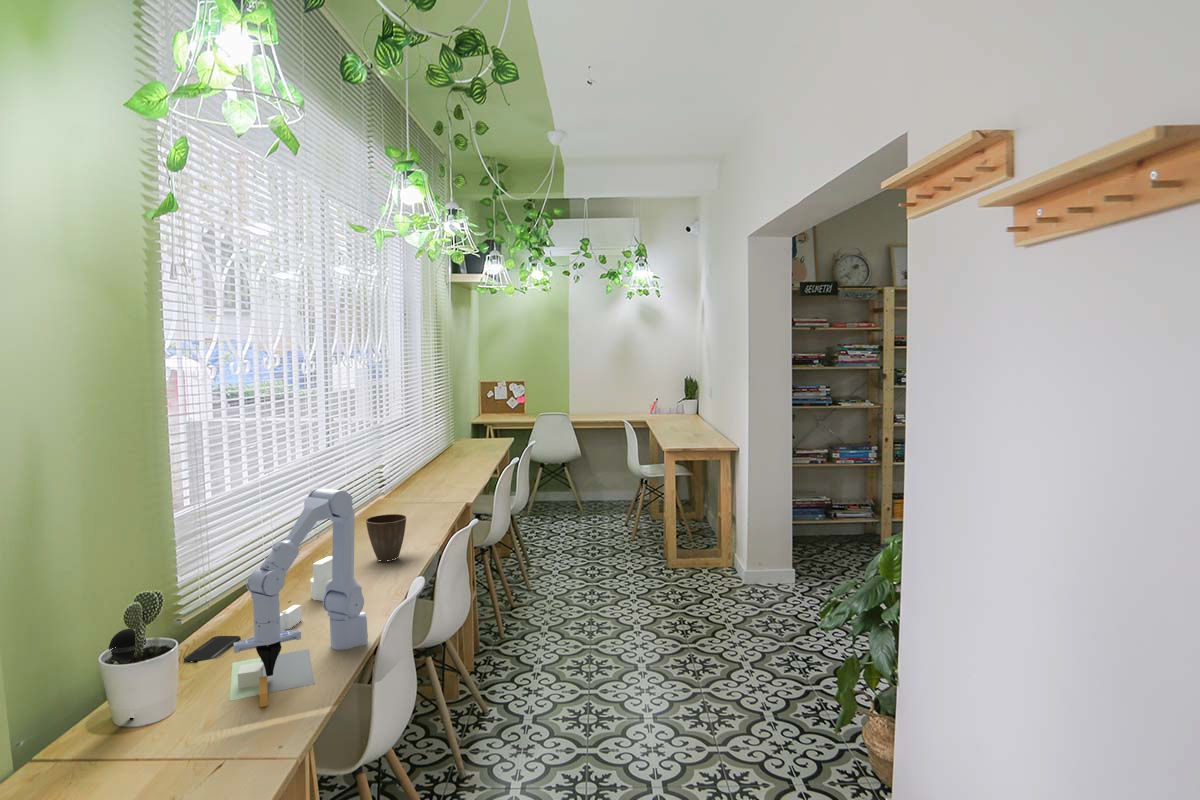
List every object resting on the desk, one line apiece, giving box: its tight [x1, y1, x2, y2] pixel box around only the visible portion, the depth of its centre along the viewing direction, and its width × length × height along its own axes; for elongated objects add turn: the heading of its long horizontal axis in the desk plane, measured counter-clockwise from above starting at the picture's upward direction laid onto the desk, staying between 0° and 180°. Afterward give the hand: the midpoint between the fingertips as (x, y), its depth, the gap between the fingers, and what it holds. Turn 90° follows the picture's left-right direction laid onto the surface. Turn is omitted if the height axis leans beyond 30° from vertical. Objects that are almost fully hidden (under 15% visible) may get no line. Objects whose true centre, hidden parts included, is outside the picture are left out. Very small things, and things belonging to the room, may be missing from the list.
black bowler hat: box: [107, 628, 147, 664], centre depth 153 cm, size 7×7×20 cm
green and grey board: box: [229, 648, 316, 702], centre depth 173 cm, size 18×22×1 cm
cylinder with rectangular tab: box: [310, 555, 332, 602], centre depth 230 cm, size 9×9×12 cm
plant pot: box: [365, 513, 407, 561], centre depth 270 cm, size 15×15×16 cm
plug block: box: [238, 662, 264, 688], centre depth 168 cm, size 5×5×4 cm
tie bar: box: [258, 676, 269, 708], centre depth 159 cm, size 2×9×3 cm, turn 26°
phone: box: [183, 635, 242, 663], centre depth 189 cm, size 8×1×15 cm
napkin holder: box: [280, 604, 303, 631], centre depth 203 cm, size 15×11×6 cm
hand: (269, 674), depth 169 cm, fingers closed
